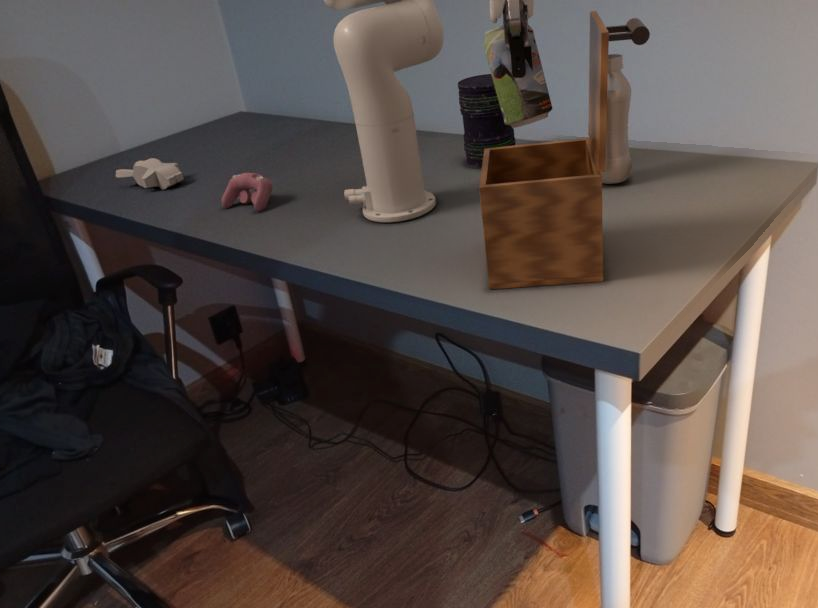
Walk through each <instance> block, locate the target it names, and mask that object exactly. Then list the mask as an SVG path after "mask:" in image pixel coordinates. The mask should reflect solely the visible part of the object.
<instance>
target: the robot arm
mask: <svg viewBox="0 0 818 608" xmlns="http://www.w3.org/2000/svg"><path fill="white" fill-rule="evenodd" d="M322 1H323V2H324V4H325V5H326V6H327V7H328V8H330V9H332V10H335V11H348V10H352V9H358V8H362V7H367V6H372V5H375V4H380V3H384V4H381V5H377V6H373V7H367V8H364V9H360V10H357V11H353V12H352V13H349V14H347V15H345V16H344V17H343V18H342V19H341V20H340V21H339V22H338V23H337V24H336V26H335V29H334V32H333V38H332V39H333V48H334V53H335V56H336V58H337V62H338V64H339V67H340V70H341V72H342V74H343V78H344V80H345V85H346V87H347V91H348V94H349V95H348V96H349V99H350V105H351V109H352V113H353V118H354V119H353V120H354V123H355V124H354V125H355V128H356V134H357V139H358V140H357V141H358V144H359V150H360V155H361V161H362V166H363V172H364V176H365V182H366V185H364V186H362V187H361V188H350V189H349V188H348V189H344V191H343V193H344V200H345V201H346V202H348V204H349V205H355V204H363V205H362V209H361V210H362V214H363V217H364V218H365V219H366V220H369V221H372V222H375V223H398V222H405V221H408V220H413V219H416V218H419V217H422V216H424V215H425V214H428V213H429V212H431V211H432V210H433V209H434V208H435V206H436V197H435V195H434V194H433V193H432V192H430V191H427V190H426V189H425V184H424V183H425V182H424V176H423V175H424V174H423V169H422V162H421V155H420V149H419V148H420V147H419V141H418V134H417V127H416V120H415V114H414V108H413V102H412V98H411V96H410V94H409V92H408V91H407V89H406V88H405V87H404V85H402V83H401V82H400V81H399V80H398V79H397V77H396V75H395V72H399V71H401V70H404V69H408V68H411V67H415V66H419V65H421V64H424V63H427V62H430V61H432V60H434V59H435V58H436V57H437V56H438V55H439V54H440V52H441V50H442V49H443V46H444V37H445V36H444V35H445V34H444V28H443V23H442V20H441V17H440V14H439V11H438V9H437V7H436V4H435V1H434V0H322ZM488 2H489V3H488V4H489V19H490V21H491V22H492V23H493V24H497V23H498V19H501V18H502V20H503V21H502V26H503V25H504V38H505V50H510V52H511V65H512V75H513V77H514V78H522V77H524V76H525V74H526V65H525V59H526V61H527V62H528V64H529V66H530V68H531V69H532V71H533V66H532V49H531V46H529V37H528V25H529V19H530V18H532V17H533V15H534V5H535V3H534V2H535V0H489V1H488ZM524 45H525V47H524ZM518 68H520V70H518Z"/></svg>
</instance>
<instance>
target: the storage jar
mask: <svg viewBox="0 0 818 608" xmlns="http://www.w3.org/2000/svg"><path fill="white" fill-rule="evenodd" d="M457 89H458V103H459V112H460V115H461V116H462V125H463V132H464V133H463V150H464V152H465V154H464V155H465V156H466V159H465V163H466V165H467V166H468V167H471V168H475V169H482V163H483V156H484V149H486V148H496V147H505V146H515V145H517V144H516V136H515V128H512V126H511V125H506V124H505V123H504V119H503V115H502V112H501V108H500V104H499V101H498V97H497V93H496V89H495V86H494V82H493V78H492V75H491V73H484V74H477V75H473V76H469V77H466V78H463V79H461V80H459V81H458V82H457Z"/></svg>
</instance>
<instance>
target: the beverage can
mask: <svg viewBox="0 0 818 608" xmlns="http://www.w3.org/2000/svg"><path fill="white" fill-rule="evenodd" d="M484 34H485V40H484V43H483V49H484V52H485V56H486V60H487V63H488V67H489V72H490V74H491V75H492V78H493V82H494V86H495V89H496V93H497V97H498V101H499V104H500V108H501V112H502V115H503V119H504V123H505V124H506V125H511V126H512V128H513V129H515V128H521V127H523V126H526V125H530V124H533V123H536V122H539V121H543V120H545V119H547V118H548V117H549V113H550V112H551V111H552V110H553V105H552V101H551V96H550V92H549V89H548V84H547V82H546V75H545V73H544V69H543V65H542V61H541V56H540V52H539V49H538V44H537V40H536V37H535V36H536V35H535V32H534V29H533V28H532V27H531V26H530V24H528V37H529V46H531V49H532V66H533V71H532V69H531V68H530V66H529V64H528V62H527V61H526V59H525V65H526V74H525V76H524V77H522V78H514V77H513V75H512V65H511V52H510V50H505V38H504V25H503V24H502V25H500V26H498V27H495V28H491V29H489V30H487V31H485V33H484ZM524 47H525V45H524ZM518 70H520V68H518Z"/></svg>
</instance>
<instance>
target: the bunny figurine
mask: <svg viewBox="0 0 818 608" xmlns="http://www.w3.org/2000/svg"><path fill="white" fill-rule="evenodd" d="M129 177H132V178H133V179H134V181H135V182H136V183H137V185H138V186H140V187H143V188H144V189H148V188H154V187H159V188H160V190H166V189H168V188H170V187H173V186H174V185H176V184H179V183H181V182H182V181H184V180H185V178H184V174H183V172H182V171H180V168H179V164H178V163H176V162H162V161H161V160H160V159H157V158H154V157H153V158H152V157H149V158H147V159H146V160H138V161H135V162H134V164H133V167H132V169H127V168H120V169H116V171H115V178H129Z"/></svg>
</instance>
